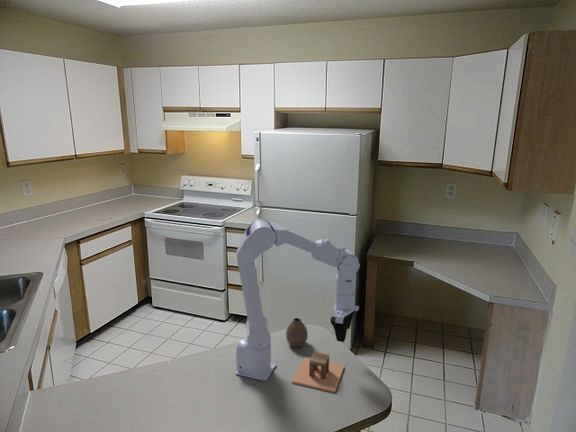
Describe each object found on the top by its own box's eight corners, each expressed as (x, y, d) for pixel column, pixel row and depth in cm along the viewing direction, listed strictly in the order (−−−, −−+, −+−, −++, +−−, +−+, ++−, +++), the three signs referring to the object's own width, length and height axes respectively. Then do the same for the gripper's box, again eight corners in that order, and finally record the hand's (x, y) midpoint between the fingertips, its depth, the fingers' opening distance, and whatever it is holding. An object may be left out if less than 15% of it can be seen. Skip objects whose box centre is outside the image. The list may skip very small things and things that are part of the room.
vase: (306, 338, 132) (306, 314, 130) (308, 350, 125) (308, 324, 123) (285, 338, 132) (285, 314, 130) (286, 350, 125) (286, 325, 123)
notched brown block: (324, 379, 110) (325, 363, 109) (309, 376, 112) (309, 360, 110) (328, 370, 114) (329, 354, 113) (313, 366, 116) (314, 351, 115)
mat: (292, 383, 110) (292, 381, 109) (305, 359, 121) (305, 357, 120) (334, 392, 106) (335, 390, 106) (344, 367, 117) (344, 365, 117)
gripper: (354, 304, 106) (352, 349, 109) (363, 283, 119) (361, 324, 122) (328, 300, 108) (327, 345, 111) (340, 280, 121) (338, 321, 124)
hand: (343, 334), depth 117 cm, fingers open, 7 cm apart
